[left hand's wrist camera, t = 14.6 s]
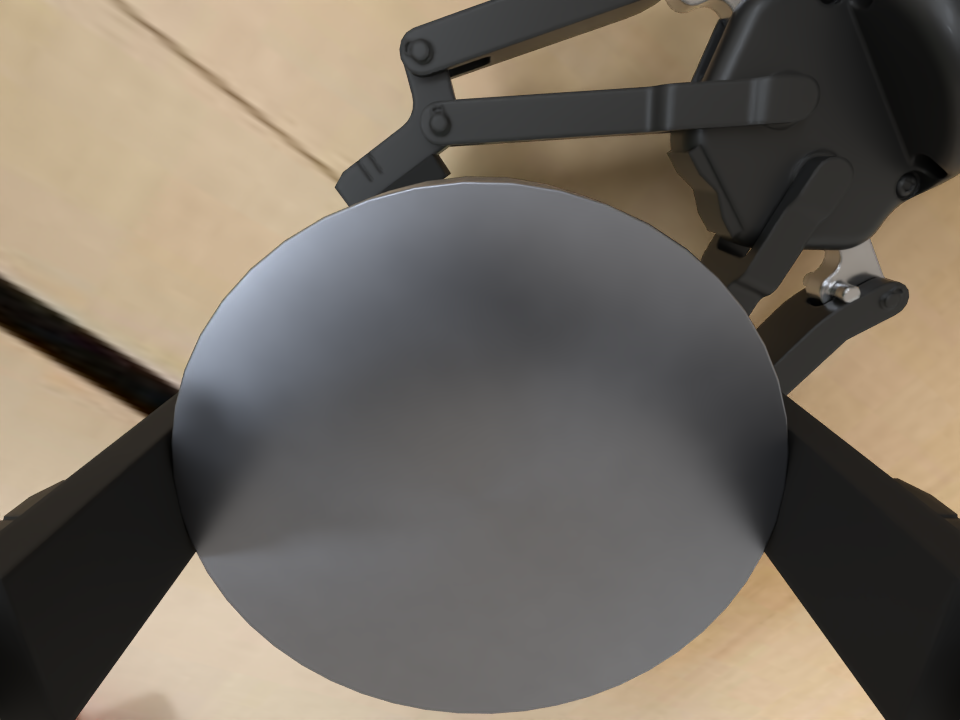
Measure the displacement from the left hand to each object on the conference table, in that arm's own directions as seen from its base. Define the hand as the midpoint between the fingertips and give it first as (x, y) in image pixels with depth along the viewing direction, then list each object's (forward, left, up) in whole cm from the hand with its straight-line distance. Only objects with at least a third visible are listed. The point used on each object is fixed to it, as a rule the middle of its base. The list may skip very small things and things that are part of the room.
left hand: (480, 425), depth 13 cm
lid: (0, 0, +3) cm, 3 cm away
